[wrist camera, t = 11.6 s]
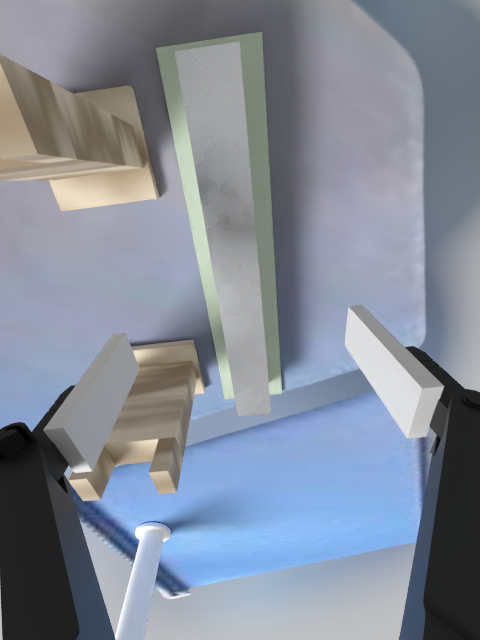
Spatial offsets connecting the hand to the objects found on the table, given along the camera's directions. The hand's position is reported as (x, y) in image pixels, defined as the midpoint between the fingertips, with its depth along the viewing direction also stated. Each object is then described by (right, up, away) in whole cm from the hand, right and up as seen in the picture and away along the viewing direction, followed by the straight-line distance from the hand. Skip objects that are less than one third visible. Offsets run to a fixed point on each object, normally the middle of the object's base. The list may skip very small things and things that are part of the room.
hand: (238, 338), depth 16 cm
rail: (0, +6, +12) cm, 14 cm away
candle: (-18, -43, +39) cm, 60 cm away
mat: (0, +6, +13) cm, 14 cm away
